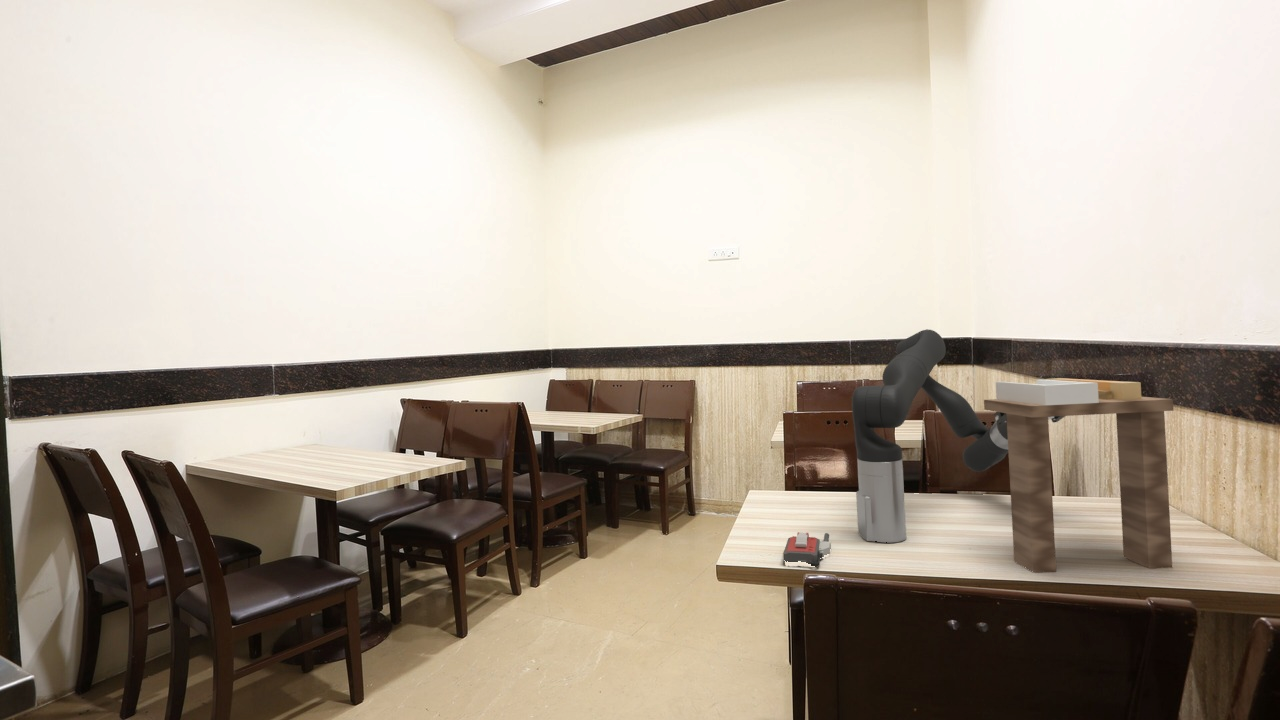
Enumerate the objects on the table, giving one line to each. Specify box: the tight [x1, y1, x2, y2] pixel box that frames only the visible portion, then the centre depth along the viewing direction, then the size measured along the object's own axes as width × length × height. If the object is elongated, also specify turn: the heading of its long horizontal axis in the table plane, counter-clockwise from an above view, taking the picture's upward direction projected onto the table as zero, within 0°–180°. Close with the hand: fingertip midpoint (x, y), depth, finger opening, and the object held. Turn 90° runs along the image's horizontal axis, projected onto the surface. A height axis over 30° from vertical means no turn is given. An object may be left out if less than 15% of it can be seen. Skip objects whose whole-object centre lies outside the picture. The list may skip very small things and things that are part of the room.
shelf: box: [983, 390, 1174, 573], centre depth 114 cm, size 24×16×32 cm, turn 88°
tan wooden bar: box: [1045, 377, 1142, 400], centre depth 120 cm, size 3×22×3 cm, turn 178°
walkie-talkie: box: [783, 531, 832, 568], centre depth 126 cm, size 9×4×20 cm
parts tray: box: [995, 379, 1099, 405], centre depth 115 cm, size 9×16×4 cm, turn 177°
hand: (1047, 399), depth 133 cm, fingers open, 8 cm apart
